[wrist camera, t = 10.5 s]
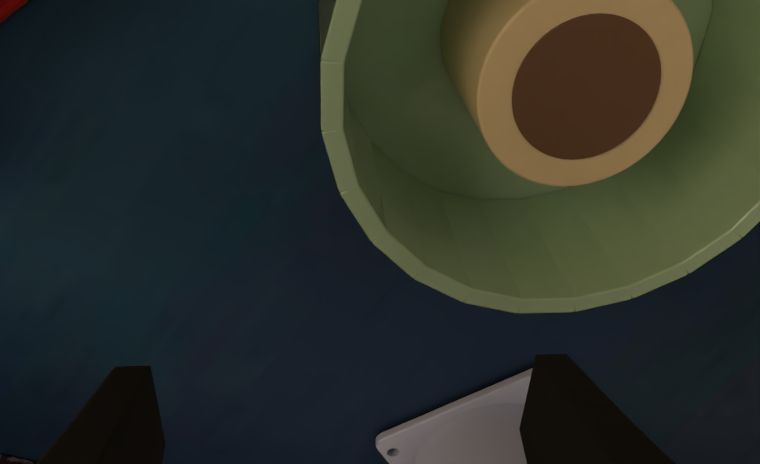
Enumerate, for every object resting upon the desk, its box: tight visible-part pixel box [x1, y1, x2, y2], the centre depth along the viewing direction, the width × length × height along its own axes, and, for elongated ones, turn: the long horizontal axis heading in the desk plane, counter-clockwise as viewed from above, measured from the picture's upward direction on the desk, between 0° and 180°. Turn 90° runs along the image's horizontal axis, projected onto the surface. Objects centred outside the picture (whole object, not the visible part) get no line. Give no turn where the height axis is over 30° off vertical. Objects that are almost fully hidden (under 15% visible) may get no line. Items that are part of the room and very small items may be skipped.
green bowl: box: [319, 0, 760, 313], centre depth 17 cm, size 12×12×6 cm
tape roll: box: [441, 0, 694, 187], centre depth 17 cm, size 5×5×5 cm
